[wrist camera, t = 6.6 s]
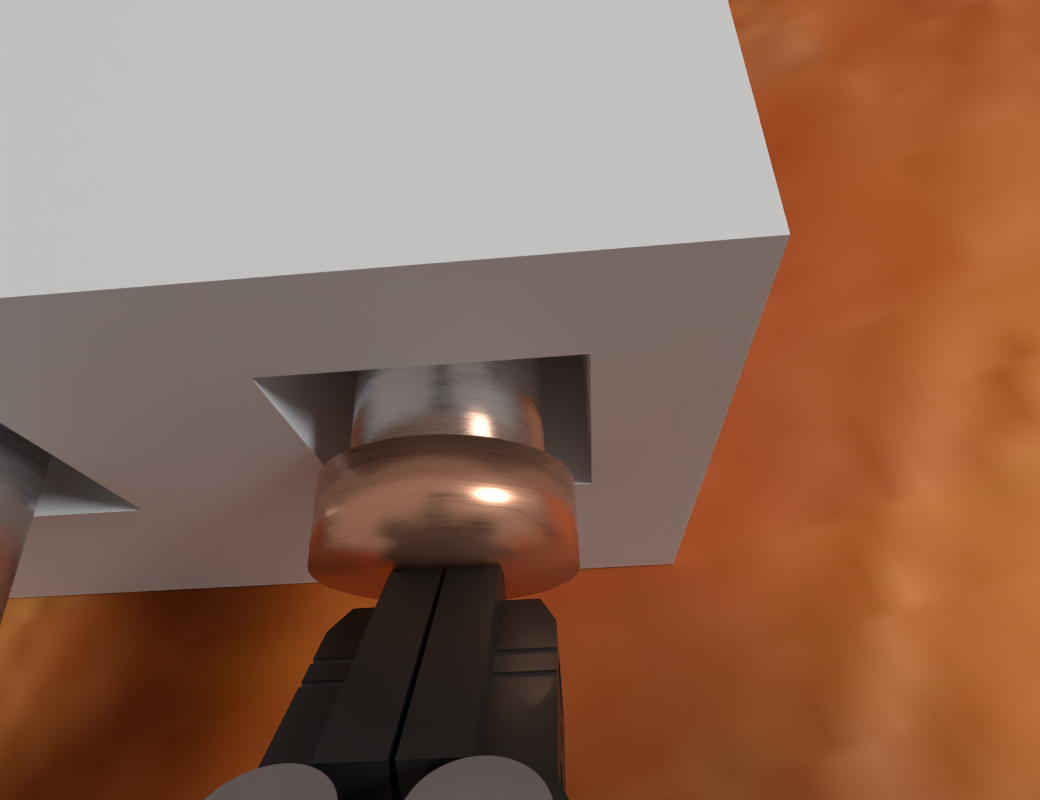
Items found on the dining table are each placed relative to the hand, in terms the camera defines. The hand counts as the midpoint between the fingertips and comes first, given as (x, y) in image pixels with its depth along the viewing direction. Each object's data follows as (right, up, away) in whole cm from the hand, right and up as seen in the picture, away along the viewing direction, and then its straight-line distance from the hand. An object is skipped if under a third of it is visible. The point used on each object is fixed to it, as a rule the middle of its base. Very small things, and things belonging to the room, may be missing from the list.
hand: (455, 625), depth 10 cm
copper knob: (0, +4, +3) cm, 5 cm away
